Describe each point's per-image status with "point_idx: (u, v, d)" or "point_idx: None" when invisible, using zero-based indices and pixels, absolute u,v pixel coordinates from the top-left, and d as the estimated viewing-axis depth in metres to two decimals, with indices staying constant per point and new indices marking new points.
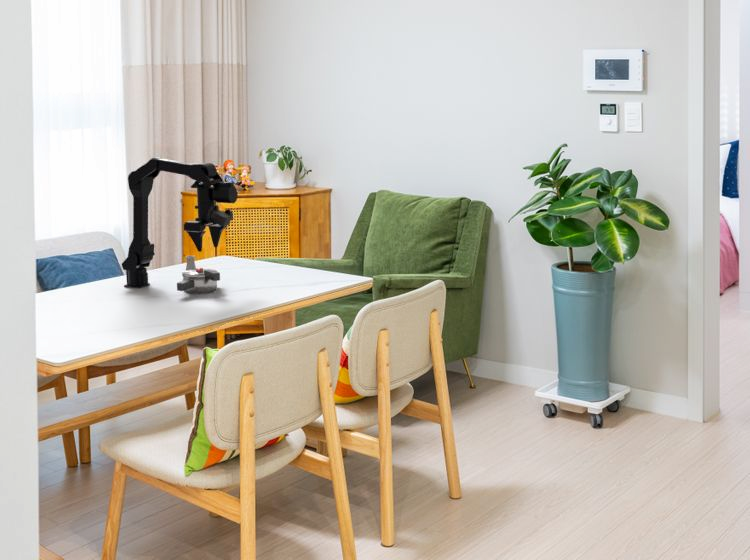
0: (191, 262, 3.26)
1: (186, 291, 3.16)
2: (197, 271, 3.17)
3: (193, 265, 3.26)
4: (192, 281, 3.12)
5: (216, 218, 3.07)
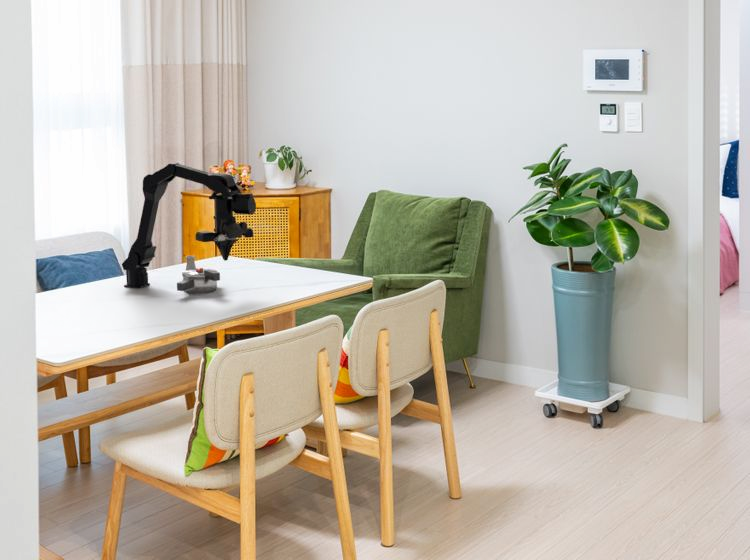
0: (191, 262, 3.26)
1: (186, 291, 3.16)
2: (197, 271, 3.17)
3: (193, 265, 3.26)
4: (192, 281, 3.12)
5: (226, 230, 3.06)
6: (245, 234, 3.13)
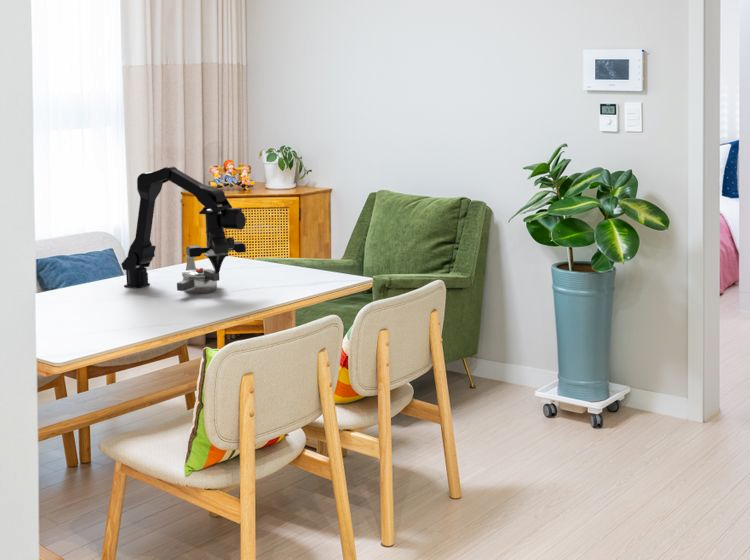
0: (191, 262, 3.26)
1: (186, 291, 3.16)
2: (197, 271, 3.17)
3: (193, 265, 3.26)
4: (192, 281, 3.12)
5: (212, 245, 3.04)
6: (236, 249, 3.10)
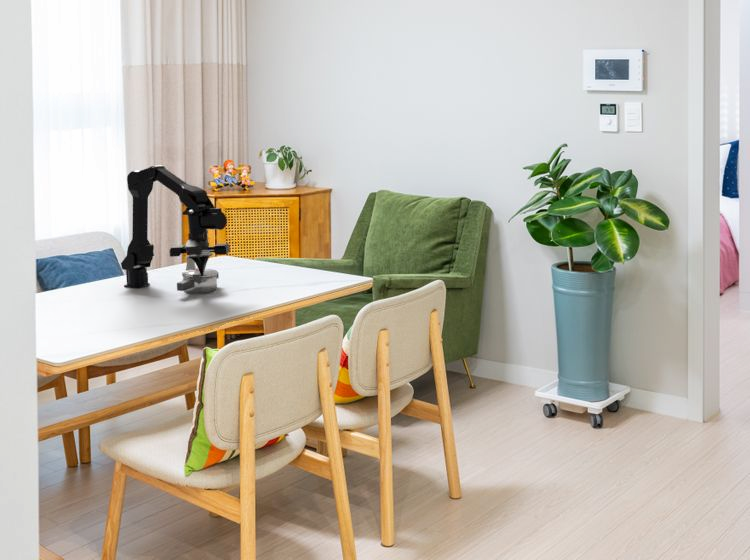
0: (191, 262, 3.26)
1: (186, 291, 3.16)
2: (196, 271, 3.18)
3: (193, 265, 3.26)
4: (192, 281, 3.12)
5: None
6: (215, 251, 3.04)
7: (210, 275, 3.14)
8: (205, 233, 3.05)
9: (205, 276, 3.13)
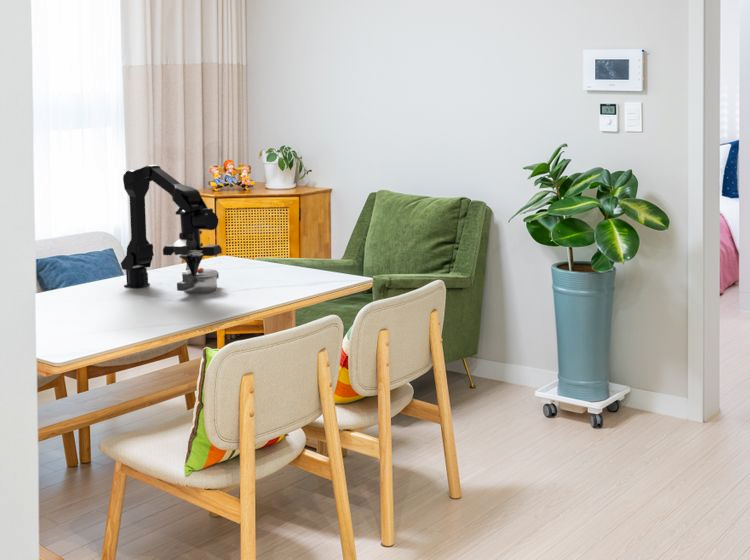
0: None
1: (186, 291, 3.16)
2: None
3: None
4: (192, 281, 3.12)
5: None
6: (203, 252, 3.03)
7: (205, 276, 3.13)
8: (196, 233, 3.05)
9: (200, 276, 3.13)
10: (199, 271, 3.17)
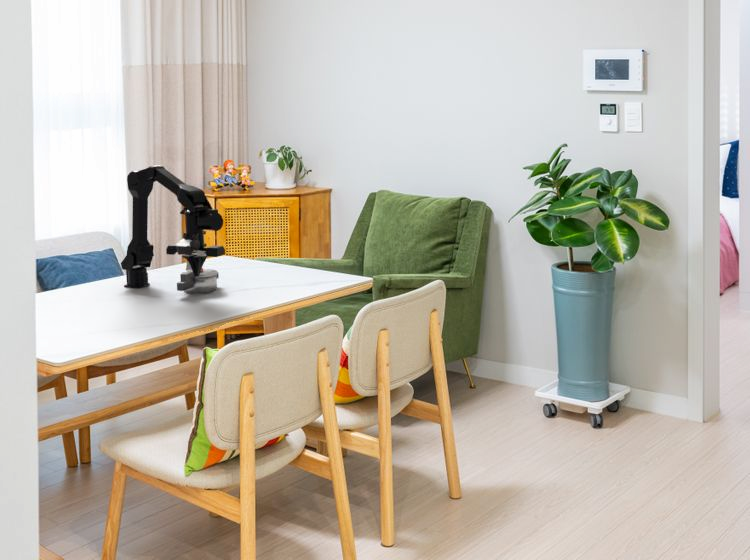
0: None
1: (186, 291, 3.16)
2: None
3: None
4: (192, 281, 3.12)
5: None
6: (207, 253, 3.02)
7: (204, 276, 3.13)
8: (200, 234, 3.04)
9: (199, 276, 3.13)
10: None
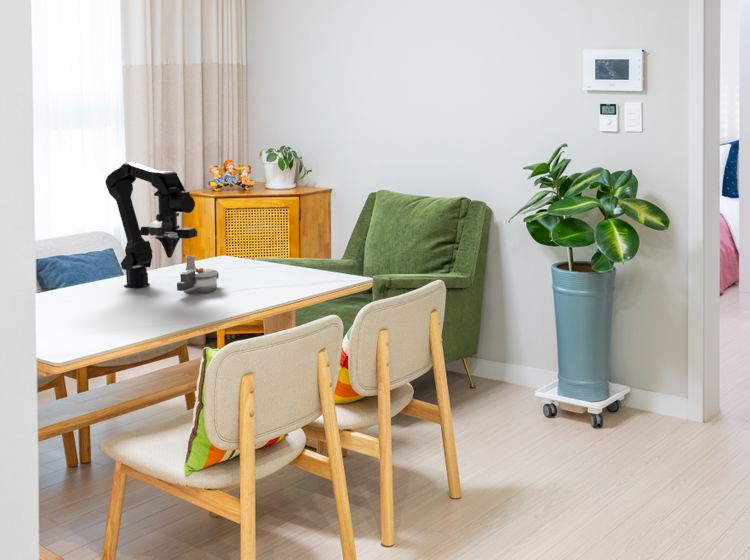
0: (191, 262, 3.26)
1: (186, 291, 3.16)
2: (196, 271, 3.18)
3: (193, 265, 3.26)
4: (192, 281, 3.12)
5: None
6: (178, 234, 3.07)
7: (204, 276, 3.13)
8: (173, 216, 3.08)
9: (199, 276, 3.13)
10: (199, 271, 3.17)
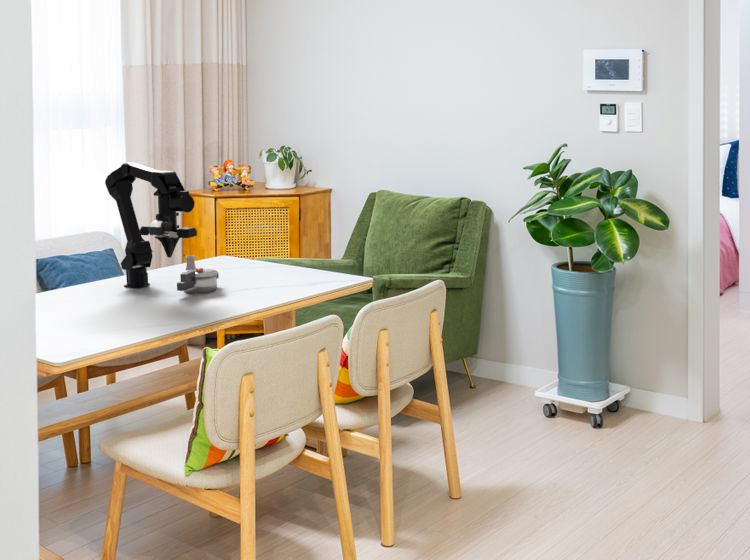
0: (191, 262, 3.26)
1: (186, 291, 3.16)
2: (196, 271, 3.18)
3: (193, 265, 3.26)
4: (192, 281, 3.12)
5: None
6: (178, 234, 3.07)
7: (204, 276, 3.13)
8: (172, 215, 3.09)
9: (199, 276, 3.13)
10: (199, 271, 3.17)
